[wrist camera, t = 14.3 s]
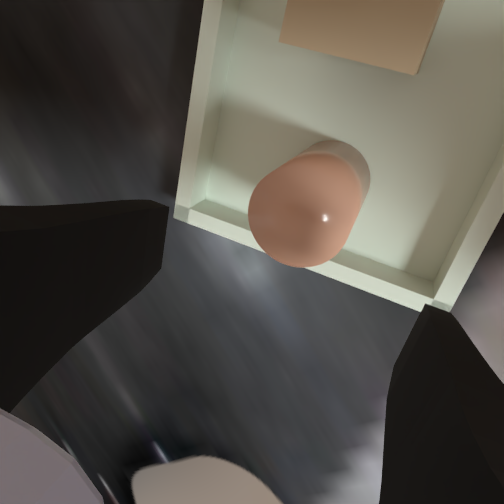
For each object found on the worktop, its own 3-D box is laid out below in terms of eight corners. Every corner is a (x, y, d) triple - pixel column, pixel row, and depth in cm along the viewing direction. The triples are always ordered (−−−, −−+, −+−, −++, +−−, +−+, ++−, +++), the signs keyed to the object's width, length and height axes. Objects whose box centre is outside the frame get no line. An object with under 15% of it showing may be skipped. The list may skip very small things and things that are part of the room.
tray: (637, -74, 13) (671, -97, 12) (443, 297, 20) (444, 321, 18) (249, -134, 17) (226, -160, 15) (194, 205, 23) (173, 217, 21)
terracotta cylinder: (385, 160, 18) (370, 195, 13) (348, 229, 20) (322, 284, 15) (311, 126, 19) (269, 147, 14) (281, 197, 21) (234, 238, 15)
